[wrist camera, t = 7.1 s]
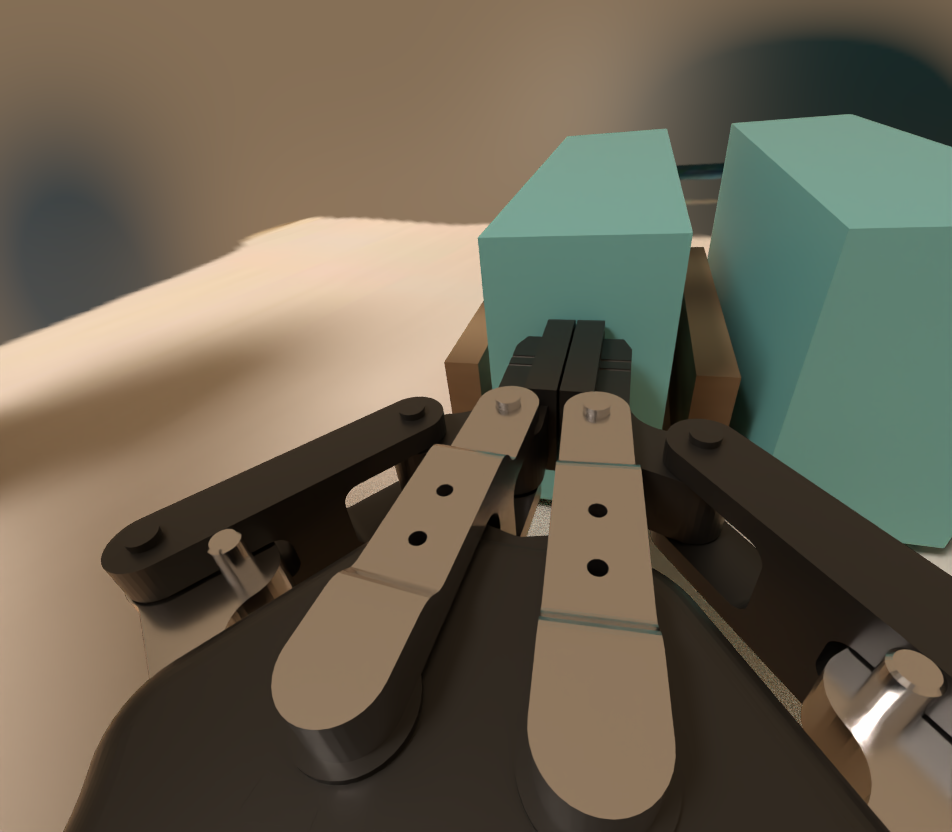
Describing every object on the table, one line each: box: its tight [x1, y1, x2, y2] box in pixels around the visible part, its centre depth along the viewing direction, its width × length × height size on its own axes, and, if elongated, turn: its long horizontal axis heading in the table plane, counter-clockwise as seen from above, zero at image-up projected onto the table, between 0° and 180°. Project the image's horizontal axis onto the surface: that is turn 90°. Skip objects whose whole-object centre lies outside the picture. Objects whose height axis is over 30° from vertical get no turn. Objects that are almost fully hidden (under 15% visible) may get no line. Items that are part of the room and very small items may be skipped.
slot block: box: [444, 247, 741, 431], centre depth 19 cm, size 12×25×5 cm, turn 74°
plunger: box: [478, 129, 693, 500], centre depth 21 cm, size 18×5×9 cm, turn 164°
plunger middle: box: [707, 114, 952, 548], centre depth 19 cm, size 18×5×9 cm, turn 164°
